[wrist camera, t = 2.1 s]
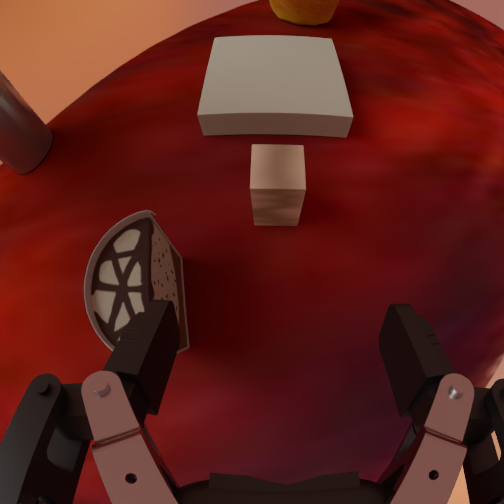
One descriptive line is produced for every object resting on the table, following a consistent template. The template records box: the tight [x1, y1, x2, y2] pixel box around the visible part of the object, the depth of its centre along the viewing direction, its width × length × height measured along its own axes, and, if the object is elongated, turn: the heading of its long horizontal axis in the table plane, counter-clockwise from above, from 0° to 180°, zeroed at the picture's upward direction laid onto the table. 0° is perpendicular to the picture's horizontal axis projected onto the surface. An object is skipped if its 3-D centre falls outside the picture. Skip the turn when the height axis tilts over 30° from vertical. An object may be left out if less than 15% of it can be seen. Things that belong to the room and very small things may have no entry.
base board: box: [197, 35, 353, 138], centre depth 35 cm, size 18×18×4 cm
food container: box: [84, 210, 190, 355], centre depth 25 cm, size 12×6×10 cm, turn 7°
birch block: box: [250, 144, 306, 226], centre depth 28 cm, size 4×4×8 cm
